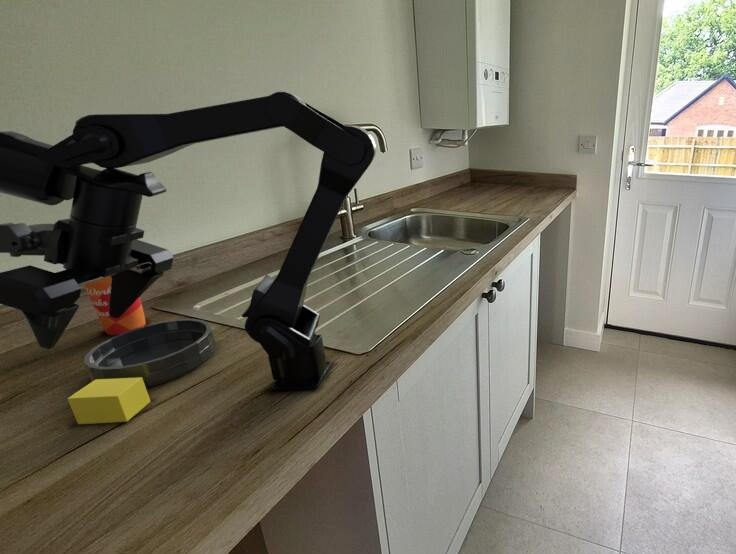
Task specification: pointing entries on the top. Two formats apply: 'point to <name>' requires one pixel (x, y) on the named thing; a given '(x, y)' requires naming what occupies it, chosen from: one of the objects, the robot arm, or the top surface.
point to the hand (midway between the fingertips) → (83, 331)
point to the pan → (153, 352)
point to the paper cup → (101, 300)
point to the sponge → (109, 400)
